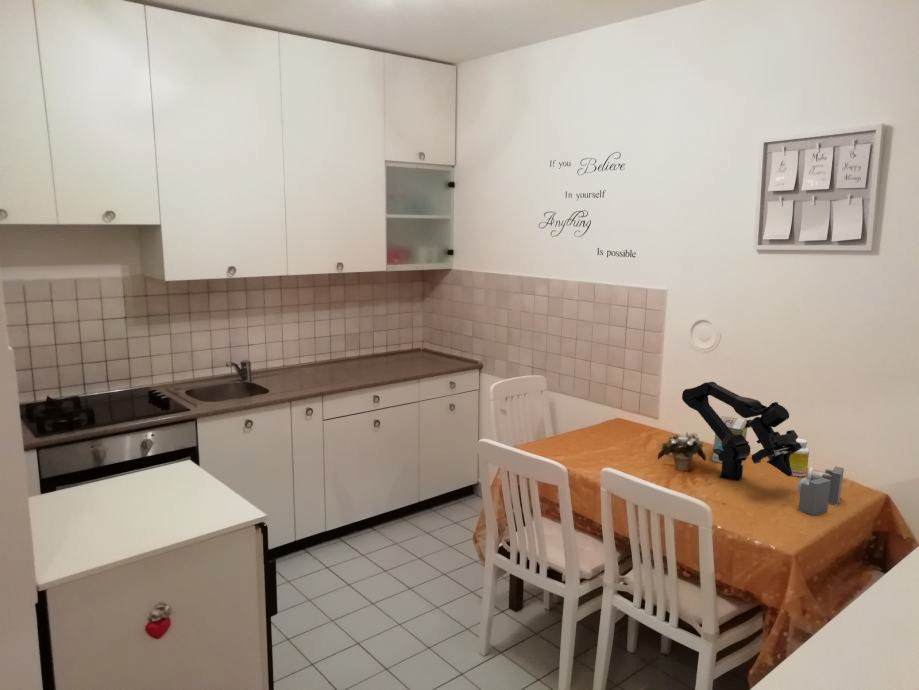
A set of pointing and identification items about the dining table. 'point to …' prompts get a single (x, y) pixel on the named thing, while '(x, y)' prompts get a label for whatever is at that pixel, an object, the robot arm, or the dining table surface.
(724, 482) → the dining table surface
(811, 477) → the button ivory
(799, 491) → the button blue
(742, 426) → the tea box
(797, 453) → the supplement bottle
